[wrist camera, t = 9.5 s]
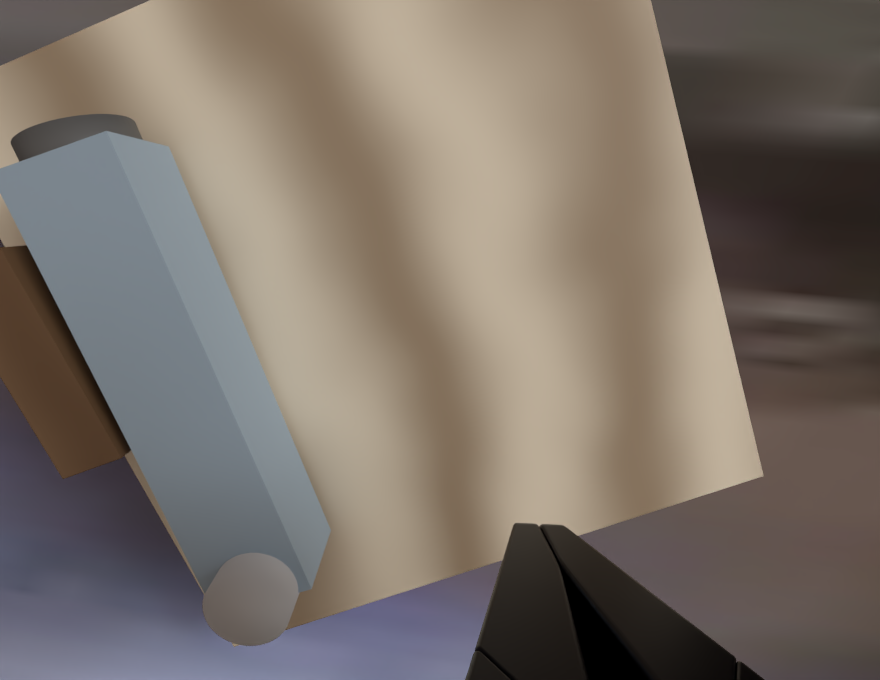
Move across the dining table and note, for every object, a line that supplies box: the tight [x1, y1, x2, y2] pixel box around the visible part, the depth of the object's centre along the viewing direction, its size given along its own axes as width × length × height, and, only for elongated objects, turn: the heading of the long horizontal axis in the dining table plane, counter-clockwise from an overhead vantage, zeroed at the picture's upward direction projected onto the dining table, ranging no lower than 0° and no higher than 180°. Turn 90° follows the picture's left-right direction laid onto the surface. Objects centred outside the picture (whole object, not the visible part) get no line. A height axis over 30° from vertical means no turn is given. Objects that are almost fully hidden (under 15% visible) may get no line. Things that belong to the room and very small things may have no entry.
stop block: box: [0, 245, 131, 479], centre depth 15 cm, size 2×6×3 cm, turn 20°
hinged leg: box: [0, 114, 331, 646], centre depth 14 cm, size 14×3×4 cm, turn 18°
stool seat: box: [0, 0, 763, 647], centre depth 17 cm, size 20×20×2 cm
